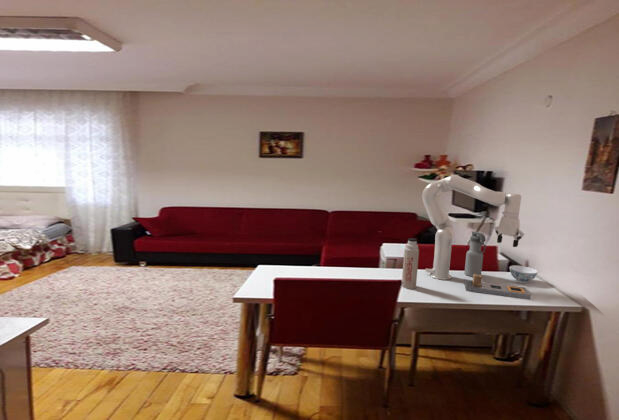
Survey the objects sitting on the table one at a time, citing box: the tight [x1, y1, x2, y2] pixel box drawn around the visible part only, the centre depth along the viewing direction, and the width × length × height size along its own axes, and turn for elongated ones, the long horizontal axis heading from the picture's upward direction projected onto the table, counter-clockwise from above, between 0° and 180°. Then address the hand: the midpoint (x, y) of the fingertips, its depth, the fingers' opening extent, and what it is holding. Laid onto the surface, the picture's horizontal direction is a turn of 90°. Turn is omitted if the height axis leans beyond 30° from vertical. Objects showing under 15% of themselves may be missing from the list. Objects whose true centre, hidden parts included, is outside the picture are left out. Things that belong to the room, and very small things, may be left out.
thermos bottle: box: [401, 237, 420, 290], centre depth 206 cm, size 8×8×28 cm
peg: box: [472, 274, 483, 286], centre depth 208 cm, size 4×4×8 cm
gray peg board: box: [463, 279, 532, 300], centre depth 205 cm, size 32×12×3 cm, turn 72°
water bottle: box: [464, 230, 487, 278], centre depth 230 cm, size 10×10×28 cm
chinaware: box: [509, 265, 539, 284], centre depth 223 cm, size 15×15×8 cm
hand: (507, 244), depth 207 cm, fingers open, 9 cm apart
